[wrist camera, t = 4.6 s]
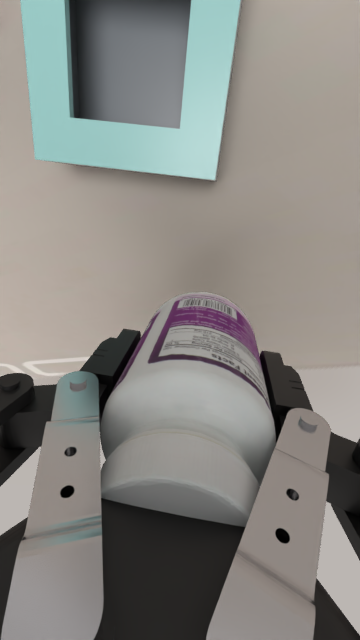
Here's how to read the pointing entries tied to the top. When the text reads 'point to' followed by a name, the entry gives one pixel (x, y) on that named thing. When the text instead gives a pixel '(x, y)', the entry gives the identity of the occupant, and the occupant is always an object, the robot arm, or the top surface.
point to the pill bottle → (190, 415)
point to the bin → (131, 82)
